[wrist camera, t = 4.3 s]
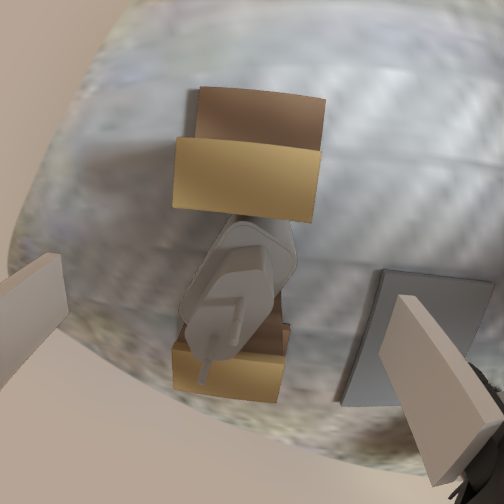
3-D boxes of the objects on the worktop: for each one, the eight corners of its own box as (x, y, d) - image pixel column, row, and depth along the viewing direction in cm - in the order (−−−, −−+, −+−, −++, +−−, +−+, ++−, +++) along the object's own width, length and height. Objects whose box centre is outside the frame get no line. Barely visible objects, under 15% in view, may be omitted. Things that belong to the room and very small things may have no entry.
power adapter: (203, 258, 20) (134, 389, 9) (249, 186, 19) (216, 259, 8) (244, 284, 21) (218, 432, 10) (293, 215, 19) (323, 323, 8)
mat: (382, 269, 20) (385, 272, 19) (490, 281, 20) (494, 285, 19) (340, 401, 24) (341, 406, 23) (438, 398, 24) (440, 402, 23)
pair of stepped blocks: (202, 88, 17) (160, 59, 10) (323, 101, 17) (356, 76, 10) (188, 345, 23) (159, 421, 16) (283, 358, 23) (285, 438, 16)
